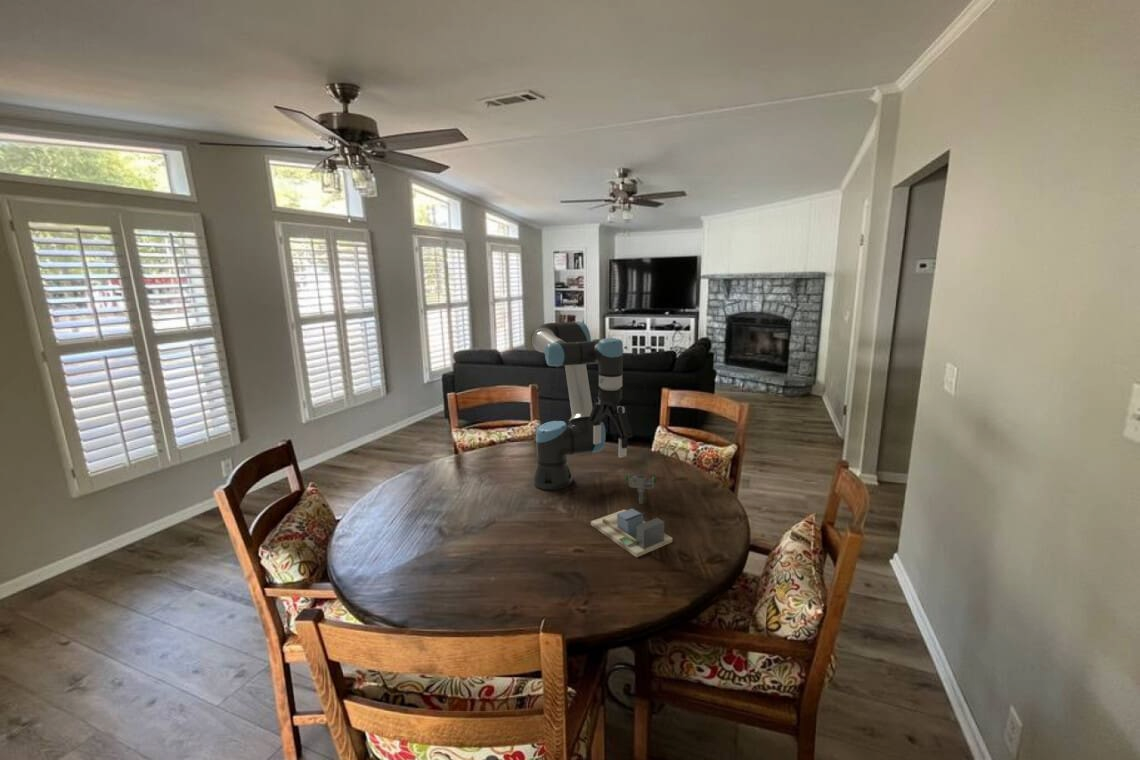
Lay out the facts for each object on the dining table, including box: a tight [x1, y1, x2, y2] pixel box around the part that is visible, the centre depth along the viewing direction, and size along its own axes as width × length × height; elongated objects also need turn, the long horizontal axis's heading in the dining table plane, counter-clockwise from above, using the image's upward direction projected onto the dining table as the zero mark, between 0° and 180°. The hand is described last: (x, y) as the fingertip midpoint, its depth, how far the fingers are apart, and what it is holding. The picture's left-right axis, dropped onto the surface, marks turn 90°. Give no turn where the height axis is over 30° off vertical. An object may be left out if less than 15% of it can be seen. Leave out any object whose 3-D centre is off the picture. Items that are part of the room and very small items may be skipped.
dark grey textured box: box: [636, 517, 665, 549], centre depth 136 cm, size 3×8×6 cm, turn 123°
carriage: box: [617, 508, 645, 535], centre depth 144 cm, size 5×7×5 cm
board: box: [590, 509, 673, 558], centre depth 144 cm, size 22×14×2 cm, turn 33°
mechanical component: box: [625, 473, 657, 505], centre depth 163 cm, size 3×10×10 cm, turn 78°
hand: (609, 449), depth 154 cm, fingers open, 13 cm apart
